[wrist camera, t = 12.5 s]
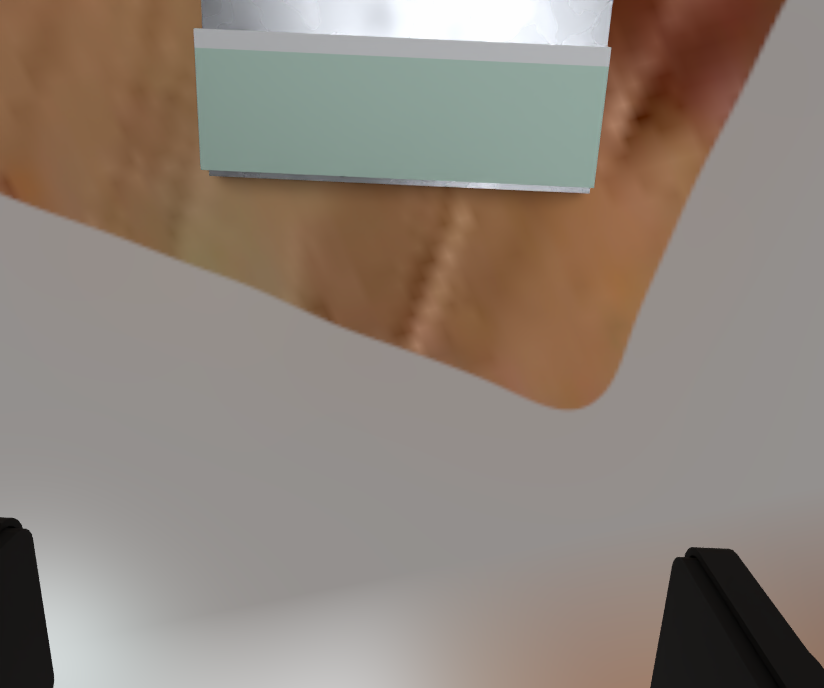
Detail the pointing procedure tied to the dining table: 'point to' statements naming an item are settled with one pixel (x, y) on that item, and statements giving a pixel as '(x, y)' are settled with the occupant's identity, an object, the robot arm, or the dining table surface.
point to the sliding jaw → (399, 107)
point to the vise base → (424, 19)
